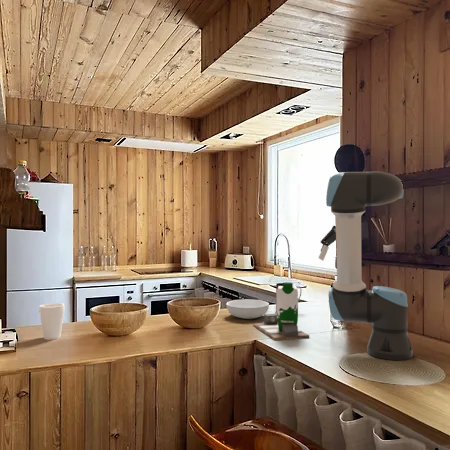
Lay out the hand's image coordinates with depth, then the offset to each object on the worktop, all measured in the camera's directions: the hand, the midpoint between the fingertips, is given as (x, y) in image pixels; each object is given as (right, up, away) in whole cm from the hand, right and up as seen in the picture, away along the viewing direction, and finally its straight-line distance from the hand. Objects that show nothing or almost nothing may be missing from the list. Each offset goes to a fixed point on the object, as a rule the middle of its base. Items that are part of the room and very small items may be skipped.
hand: (332, 261), depth 195 cm
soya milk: (-20, -28, -7) cm, 35 cm away
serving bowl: (-35, -29, +25) cm, 52 cm away
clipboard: (-23, -29, -4) cm, 37 cm away
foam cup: (-116, -29, -15) cm, 120 cm away
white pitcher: (-14, -29, +34) cm, 47 cm away
